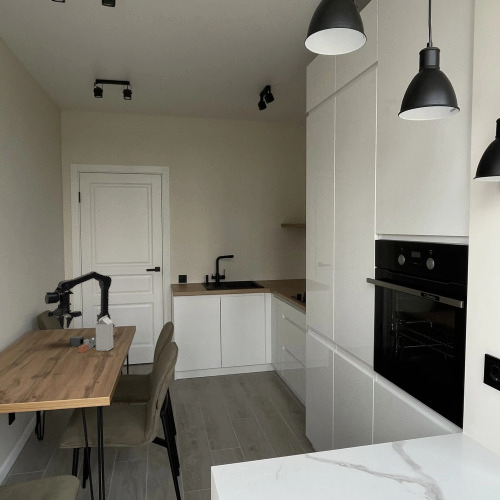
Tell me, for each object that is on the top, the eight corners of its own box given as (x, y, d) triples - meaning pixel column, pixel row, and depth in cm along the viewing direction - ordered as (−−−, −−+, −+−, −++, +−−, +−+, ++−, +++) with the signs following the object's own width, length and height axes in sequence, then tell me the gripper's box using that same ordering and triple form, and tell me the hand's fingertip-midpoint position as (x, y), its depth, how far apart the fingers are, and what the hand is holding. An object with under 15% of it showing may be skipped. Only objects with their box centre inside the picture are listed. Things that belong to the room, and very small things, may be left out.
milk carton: (113, 347, 234) (113, 315, 234) (108, 351, 227) (107, 317, 226) (101, 347, 235) (101, 315, 234) (95, 350, 228) (95, 317, 227)
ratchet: (87, 344, 241) (87, 335, 241) (99, 344, 240) (99, 335, 240) (71, 352, 225) (71, 342, 225) (84, 352, 224) (84, 343, 224)
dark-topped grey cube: (74, 344, 242) (74, 335, 242) (84, 344, 242) (83, 336, 241) (69, 346, 237) (69, 338, 237) (79, 346, 237) (79, 338, 236)
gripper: (41, 304, 233) (41, 330, 233) (71, 304, 230) (72, 331, 231) (53, 301, 244) (53, 326, 244) (82, 301, 242) (82, 327, 242)
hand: (65, 328), depth 240 cm, fingers open, 3 cm apart
